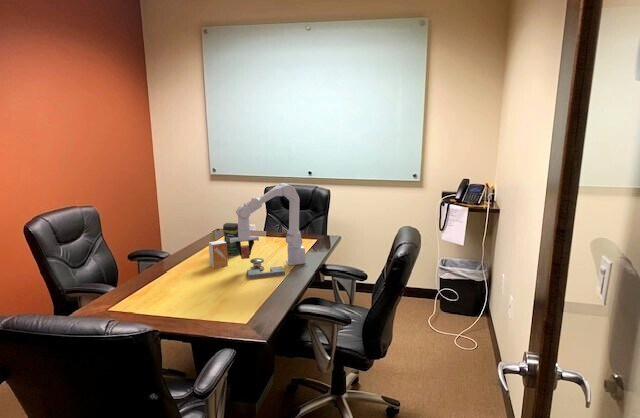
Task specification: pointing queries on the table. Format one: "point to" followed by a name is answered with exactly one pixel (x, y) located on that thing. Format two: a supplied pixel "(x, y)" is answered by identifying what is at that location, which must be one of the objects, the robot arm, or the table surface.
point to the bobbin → (257, 263)
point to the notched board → (257, 274)
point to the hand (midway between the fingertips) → (245, 254)
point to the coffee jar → (231, 232)
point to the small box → (218, 254)
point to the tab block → (245, 252)
